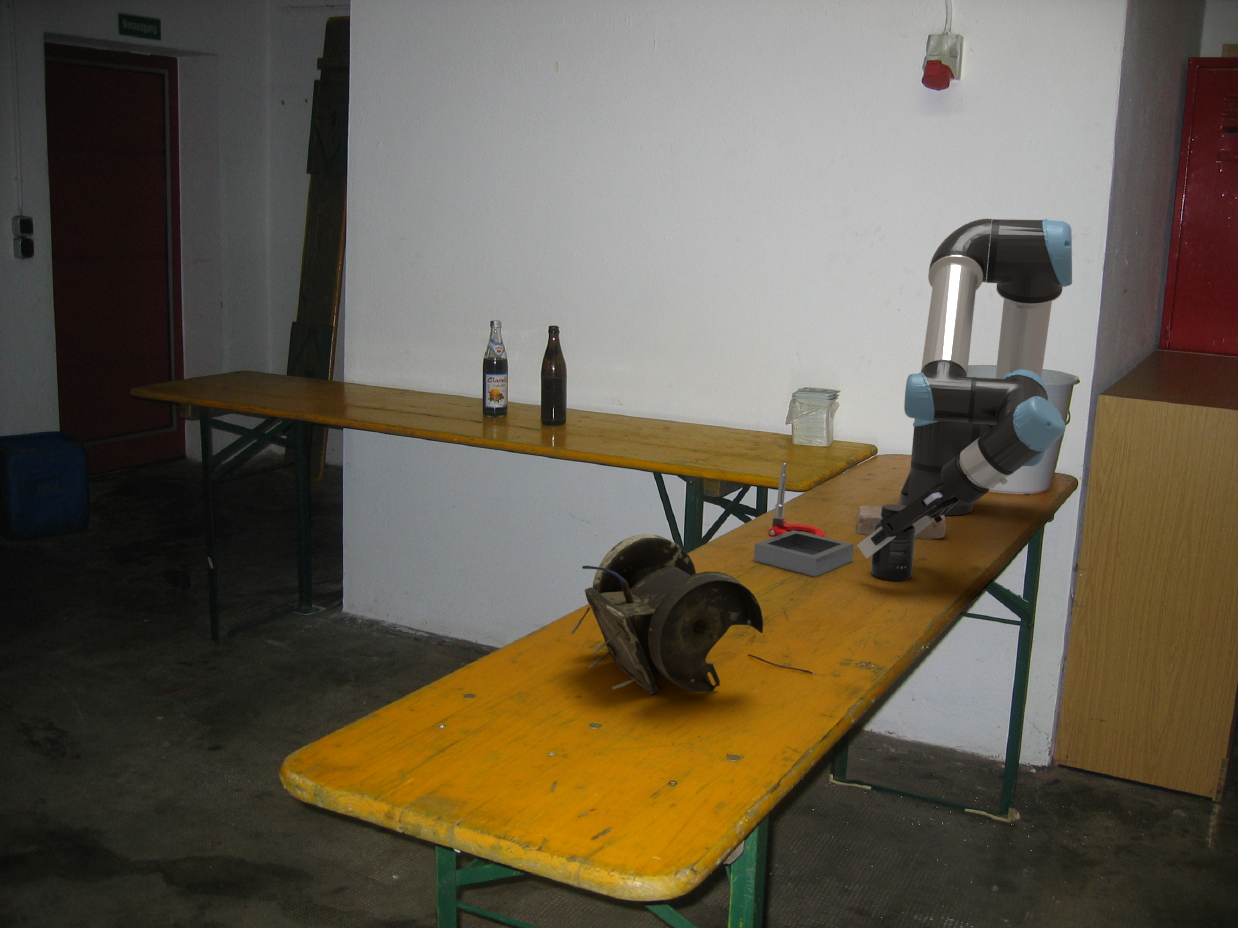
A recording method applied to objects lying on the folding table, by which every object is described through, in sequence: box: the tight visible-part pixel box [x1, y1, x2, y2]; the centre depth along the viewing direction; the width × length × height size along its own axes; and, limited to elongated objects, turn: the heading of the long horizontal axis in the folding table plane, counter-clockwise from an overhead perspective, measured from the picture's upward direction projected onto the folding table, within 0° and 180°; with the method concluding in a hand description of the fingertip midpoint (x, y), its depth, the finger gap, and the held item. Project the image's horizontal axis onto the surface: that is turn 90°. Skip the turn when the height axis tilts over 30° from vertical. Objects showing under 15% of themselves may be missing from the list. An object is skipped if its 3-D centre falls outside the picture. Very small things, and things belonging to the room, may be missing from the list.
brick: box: [855, 504, 947, 540], centre depth 212 cm, size 17×8×5 cm, turn 79°
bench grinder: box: [570, 533, 764, 695], centre depth 140 cm, size 20×22×20 cm
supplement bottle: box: [870, 503, 916, 582], centre depth 184 cm, size 7×7×12 cm
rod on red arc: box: [768, 462, 826, 537], centre depth 207 cm, size 9×14×10 cm
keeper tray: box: [753, 530, 855, 577], centre depth 192 cm, size 12×12×3 cm
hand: (882, 543), depth 185 cm, fingers open, 13 cm apart
